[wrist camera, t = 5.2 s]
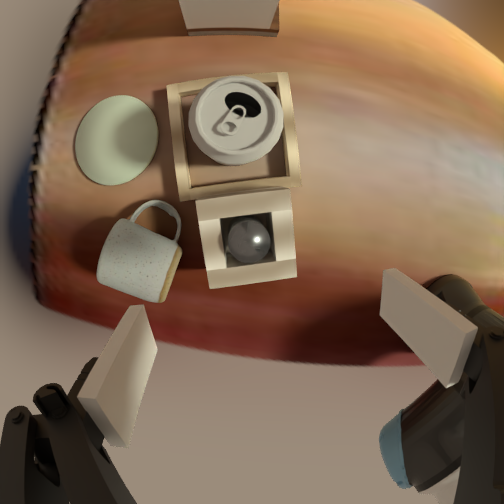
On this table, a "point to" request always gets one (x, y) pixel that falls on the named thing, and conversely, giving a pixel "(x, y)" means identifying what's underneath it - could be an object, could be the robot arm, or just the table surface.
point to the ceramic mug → (140, 257)
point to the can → (236, 120)
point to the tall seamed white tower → (231, 17)
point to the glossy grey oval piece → (248, 239)
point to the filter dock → (241, 196)
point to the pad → (116, 140)
